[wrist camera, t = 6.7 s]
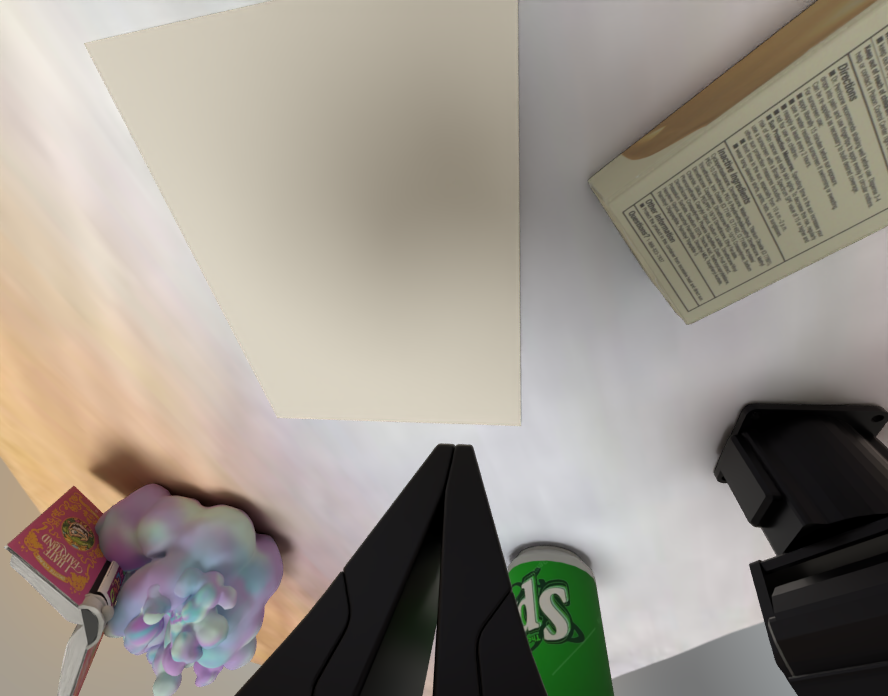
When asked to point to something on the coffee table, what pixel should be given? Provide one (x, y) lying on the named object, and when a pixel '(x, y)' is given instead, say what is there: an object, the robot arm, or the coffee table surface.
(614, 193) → the skincare box
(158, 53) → the cream mat
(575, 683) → the soda can
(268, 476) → the coffee table surface
